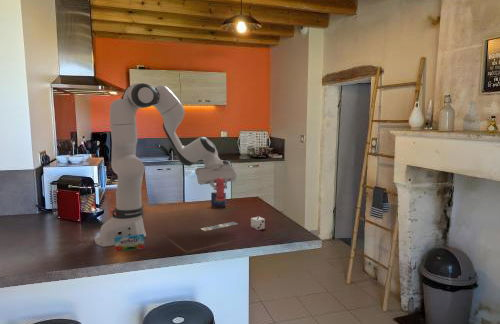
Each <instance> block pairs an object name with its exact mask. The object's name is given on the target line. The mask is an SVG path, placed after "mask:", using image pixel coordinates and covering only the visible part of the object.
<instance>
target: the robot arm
mask: <svg viewBox="0 0 500 324" xmlns="http://www.w3.org/2000/svg"><path fill="white" fill-rule="evenodd" d="M152 106H153V107H154V108H155V109H156V110H157V111H158V113H159V114H160V116H161V117H162V119H163V123H162V128H163V131H164V134H165V135H166V137H167V139H168V141H169V142H170V144H171V146H172V148H173V149H174V151H175V153H176V156H177V158H178V160H179V162H180V163H181V165H183V166H186V167H187V166H188V167H191V166H192V165H193V164H195V163H197V161H200V160H201V159H202V161H203V167H197V168H196V169H195V170H194V173H195V175H196V178H197V179H196V180H197V183H198V184H199V185H209V186H211V187H212V188H213V191H216V190H217V185H216V180H217V179H218V178H223V180H224V190H226V189H228V182H234V181H236V180H237V173H236V170H235V169H234V167H233V166H231V165H232V164H231V162H230V161H229V160H223V159H221V158H220V157H219V152H218V150H217V148H216V145H215V143H214V142H213V141H212V140H211V139H210V138H208V137H204V136H200V137H198V138H196V139H195V140H193V141H191V142H190V143H189V144H187V145H183V144H182V141H181V140H180V138H179V136H178V134H177V128H178V127H179V126H180V124H181V123H182V122H183V119H184V117H185V114H186V113H185V112H186V111H185V108H184V105H183V104H182V102H181V101H180V100H179V98H178V97H177V96H176V95H175V94H174V92H173V91H172V90H171V89H169V87H168V86H166V85H164V84H163V85H162V84H161V85H157V86H152V85H150V84H148V83H134V84H131V85H129V86H128V87H126V88H125V90H124V92H123V94H122V96H121V97H120V98H118V99H115V100H113V101H111V104H110V106H109V107H110V108H109V125H110V136H111V162H110V165H111V169H112V172H114V174H116V175H117V185H116V190H115V202H116V204H115V205H116V207H115V208H114V209H113V208H110V209H109V213H110V214H111V215H112V216H111V218H109V219H108V220H107V221H106V222H105V223H103V225H101V226H100V231H99V235H96V236H95V237H94V243H95V244H96V245H97V246H99V247H103V248H105V247H112V246H115V242H114V238H115V237H118V236H128V235H139V234H144V238H145V237H147V233H146V230H145V226H144V225H145V224H144V220H143V218H144V209H143V205H142V185H143V179H144V178H143V177H144V174H145V171H146V168H145V165H144V162H143V161H142V159H140V158H139V157H138V156H137V155H136V154H137V153H136V152H137V144H138V139H139V138H138V127H137V119H136V118H137V117H136V115H137V111H138V109H144V108H145V109H146V108H149V107H152Z"/></svg>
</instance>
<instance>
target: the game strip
mask: <svg viewBox="0 0 500 324" xmlns="http://www.w3.org/2000/svg"><path fill="white" fill-rule="evenodd" d="M236 225H238V222H235V221H231V222H226V223H221V224H216V225H212V226H205V227H202V228H200V230H202V231H204V232H207V231H212V230H216V229H221V228H222V229H223V228H227V227H230V226H236Z"/></svg>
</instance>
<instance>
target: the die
mask: <svg viewBox="0 0 500 324" xmlns="http://www.w3.org/2000/svg"><path fill="white" fill-rule="evenodd" d="M265 222H266V220H265V218H263V217H261V216H256V217H251V218H250V227H251V228H252V229H255V230H256V231H259V230H264V229H265V227H266V225H265Z"/></svg>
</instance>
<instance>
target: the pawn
mask: <svg viewBox="0 0 500 324" xmlns="http://www.w3.org/2000/svg"><path fill="white" fill-rule="evenodd" d="M224 184H225V183H224V180H223V178H218V179H217V180H216V183H215V185H217V190H215V192H217V197H216V201H224V200H225V197H224V192H225V189H224Z"/></svg>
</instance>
